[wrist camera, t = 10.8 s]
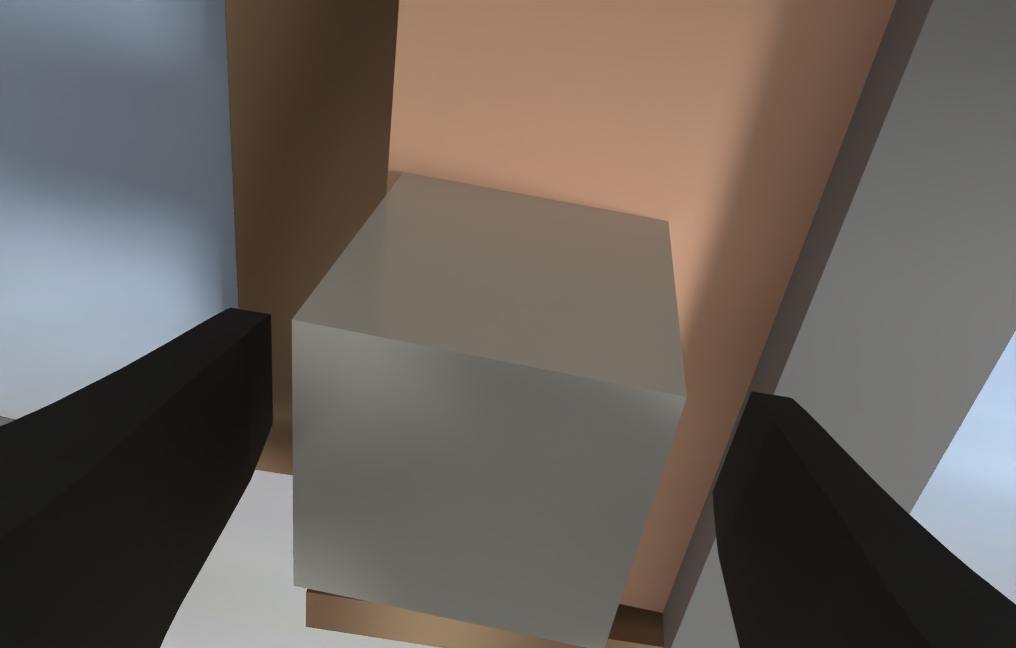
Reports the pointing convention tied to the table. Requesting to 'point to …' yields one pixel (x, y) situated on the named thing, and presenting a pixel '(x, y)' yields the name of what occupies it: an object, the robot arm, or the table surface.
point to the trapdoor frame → (328, 231)
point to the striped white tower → (4, 421)
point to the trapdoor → (756, 211)
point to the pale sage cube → (485, 408)
